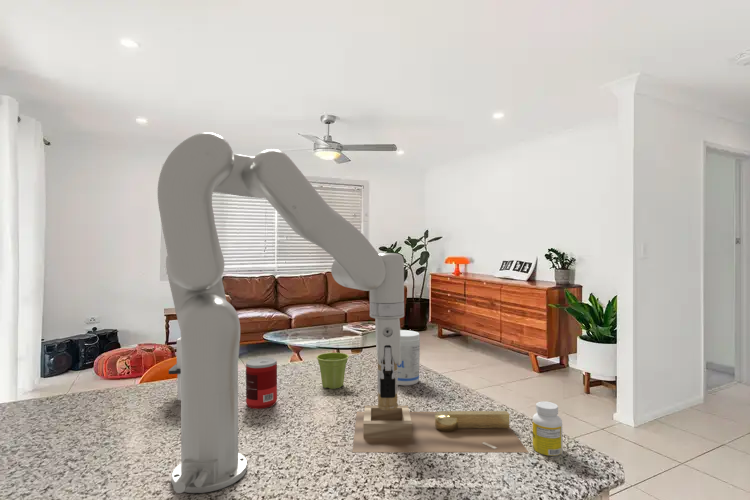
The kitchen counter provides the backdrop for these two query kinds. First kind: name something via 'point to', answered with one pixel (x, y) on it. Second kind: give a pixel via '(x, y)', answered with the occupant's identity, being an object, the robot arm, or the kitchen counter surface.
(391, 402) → the spice jar
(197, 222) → the robot arm
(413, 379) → the supplement tub
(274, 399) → the canned food
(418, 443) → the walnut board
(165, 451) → the kitchen counter surface
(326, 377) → the plant pot
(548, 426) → the supplement bottle
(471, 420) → the lever
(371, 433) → the socket
